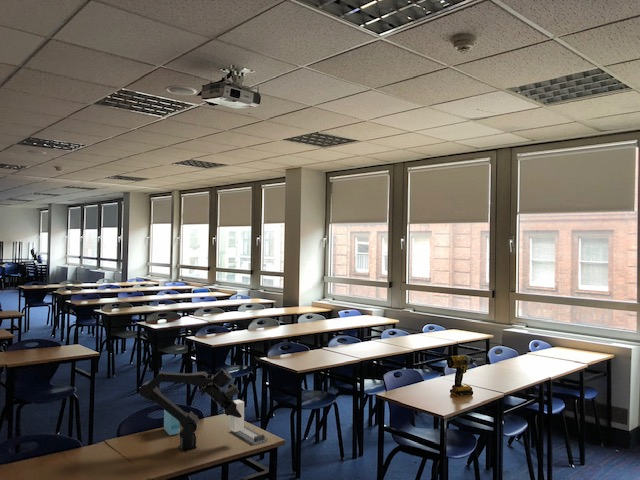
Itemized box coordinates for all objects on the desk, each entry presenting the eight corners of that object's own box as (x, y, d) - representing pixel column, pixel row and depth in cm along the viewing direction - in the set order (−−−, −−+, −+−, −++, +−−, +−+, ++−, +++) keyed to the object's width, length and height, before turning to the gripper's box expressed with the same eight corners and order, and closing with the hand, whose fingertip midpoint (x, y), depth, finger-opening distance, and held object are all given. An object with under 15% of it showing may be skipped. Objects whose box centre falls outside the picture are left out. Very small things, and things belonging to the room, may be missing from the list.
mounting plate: (253, 445, 232) (253, 438, 232) (230, 431, 249) (230, 425, 249) (267, 441, 237) (267, 434, 237) (244, 428, 254) (244, 422, 254)
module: (234, 432, 229) (234, 404, 230) (228, 429, 233) (229, 401, 234) (243, 429, 233) (244, 402, 233) (238, 426, 237) (239, 399, 237)
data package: (179, 434, 244) (179, 410, 245) (170, 436, 242) (170, 411, 242) (172, 427, 255) (172, 403, 255) (163, 429, 252) (164, 405, 252)
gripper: (232, 385, 224) (256, 407, 227) (225, 375, 241) (247, 396, 245) (214, 404, 221) (239, 426, 224) (208, 393, 238) (231, 413, 242)
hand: (239, 414), depth 234 cm, fingers closed on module, 6 cm apart
